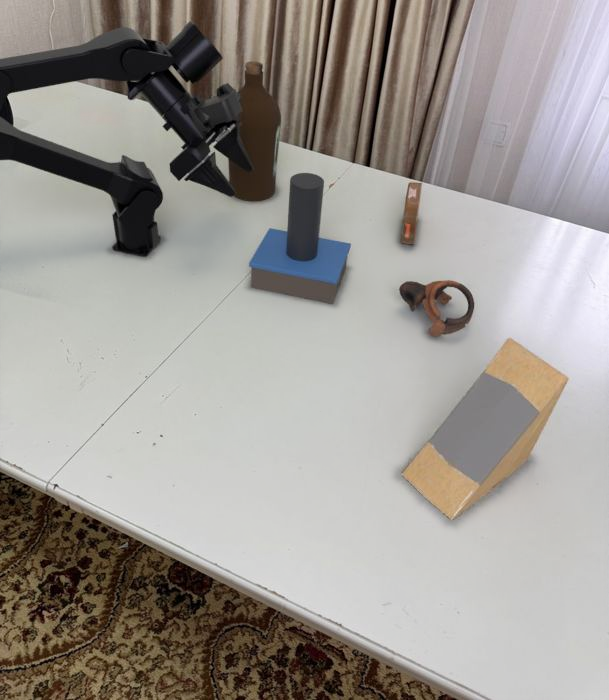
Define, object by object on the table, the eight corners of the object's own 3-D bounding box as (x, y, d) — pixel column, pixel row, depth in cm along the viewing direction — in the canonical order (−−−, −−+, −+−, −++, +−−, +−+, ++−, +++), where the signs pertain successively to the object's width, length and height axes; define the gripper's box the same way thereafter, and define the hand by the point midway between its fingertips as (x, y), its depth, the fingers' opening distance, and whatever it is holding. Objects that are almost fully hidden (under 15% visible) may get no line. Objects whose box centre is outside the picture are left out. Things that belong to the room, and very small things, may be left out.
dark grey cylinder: (297, 264, 100) (302, 191, 92) (280, 249, 104) (283, 176, 95) (323, 256, 103) (330, 183, 94) (305, 241, 106) (311, 170, 97)
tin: (412, 253, 115) (421, 212, 109) (396, 250, 115) (403, 209, 109) (418, 214, 126) (426, 175, 120) (402, 212, 126) (410, 173, 121)
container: (248, 288, 103) (249, 262, 100) (268, 252, 112) (269, 227, 108) (334, 305, 101) (337, 280, 98) (347, 267, 110) (351, 243, 106)
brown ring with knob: (463, 305, 104) (485, 285, 97) (449, 355, 101) (472, 338, 93) (397, 278, 104) (415, 256, 96) (381, 327, 100) (398, 308, 93)
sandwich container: (398, 473, 77) (422, 387, 67) (477, 419, 84) (508, 335, 74) (451, 522, 72) (485, 437, 62) (529, 460, 80) (570, 376, 70)
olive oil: (230, 204, 124) (228, 73, 107) (223, 179, 131) (221, 54, 115) (282, 201, 126) (288, 73, 109) (272, 177, 134) (277, 54, 117)
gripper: (184, 92, 85) (260, 181, 91) (229, 54, 99) (292, 133, 104) (137, 139, 91) (210, 219, 97) (185, 96, 105) (247, 169, 111)
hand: (242, 182), depth 102 cm, fingers open, 9 cm apart
